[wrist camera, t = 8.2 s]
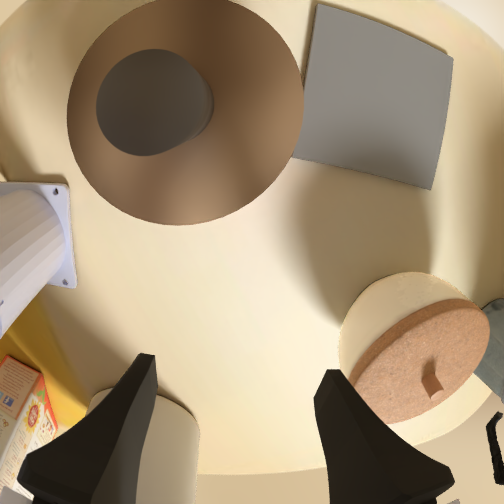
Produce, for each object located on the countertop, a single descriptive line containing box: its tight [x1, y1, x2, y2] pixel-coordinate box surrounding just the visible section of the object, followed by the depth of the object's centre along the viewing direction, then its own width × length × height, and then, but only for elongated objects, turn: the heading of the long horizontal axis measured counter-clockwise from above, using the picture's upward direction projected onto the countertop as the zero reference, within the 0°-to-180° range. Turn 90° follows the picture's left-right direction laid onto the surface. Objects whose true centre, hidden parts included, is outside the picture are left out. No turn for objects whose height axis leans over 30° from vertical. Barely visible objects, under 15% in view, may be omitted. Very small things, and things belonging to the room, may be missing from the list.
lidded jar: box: [338, 272, 490, 424], centre depth 18 cm, size 11×11×9 cm
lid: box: [67, 0, 304, 225], centre depth 9 cm, size 10×10×5 cm
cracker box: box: [0, 355, 58, 500], centre depth 18 cm, size 14×6×21 cm, turn 159°
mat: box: [291, 4, 453, 190], centre depth 15 cm, size 10×10×1 cm
